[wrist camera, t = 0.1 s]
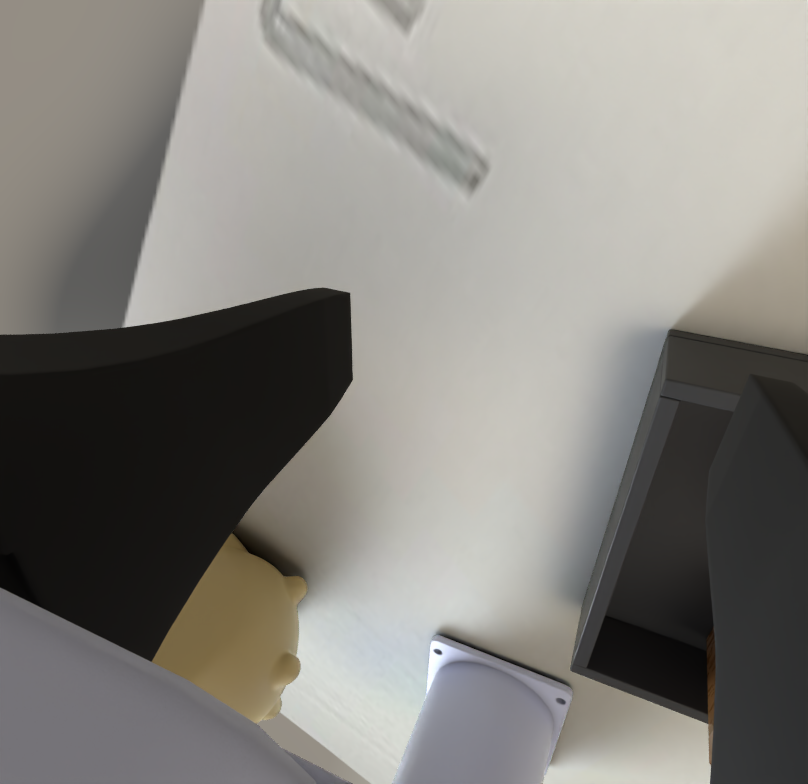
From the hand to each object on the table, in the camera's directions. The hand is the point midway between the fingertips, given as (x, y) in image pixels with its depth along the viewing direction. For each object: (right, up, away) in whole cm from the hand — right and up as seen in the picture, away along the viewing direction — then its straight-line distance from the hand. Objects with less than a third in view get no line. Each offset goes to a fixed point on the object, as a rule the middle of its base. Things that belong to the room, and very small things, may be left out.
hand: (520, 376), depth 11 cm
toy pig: (-11, -12, +27) cm, 31 cm away
